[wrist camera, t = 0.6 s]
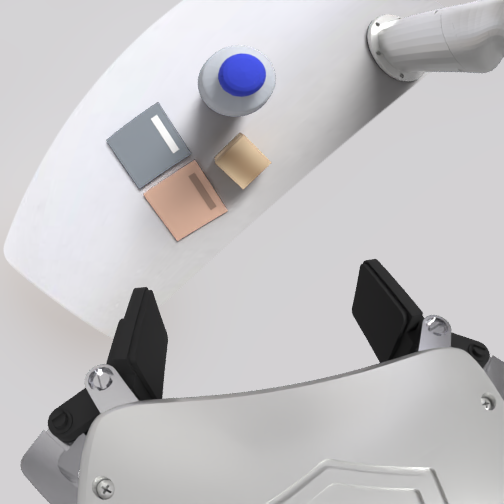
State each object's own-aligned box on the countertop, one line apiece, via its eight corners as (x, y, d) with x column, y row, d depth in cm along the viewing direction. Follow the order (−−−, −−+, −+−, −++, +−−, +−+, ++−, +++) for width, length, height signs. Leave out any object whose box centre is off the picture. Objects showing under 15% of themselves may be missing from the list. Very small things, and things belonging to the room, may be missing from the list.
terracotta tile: (195, 159, 37) (194, 160, 36) (227, 209, 41) (227, 211, 40) (144, 193, 38) (143, 194, 37) (177, 239, 42) (177, 241, 42)
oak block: (239, 132, 36) (244, 135, 32) (264, 156, 38) (271, 162, 34) (214, 157, 37) (215, 163, 33) (239, 180, 39) (243, 189, 35)
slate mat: (158, 102, 32) (157, 102, 31) (191, 153, 36) (191, 154, 36) (107, 139, 33) (105, 140, 32) (140, 187, 37) (139, 189, 37)
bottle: (243, 121, 35) (276, 128, 18) (196, 110, 33) (182, 104, 16) (257, 78, 32) (304, 47, 15) (210, 65, 31) (211, 19, 13)
